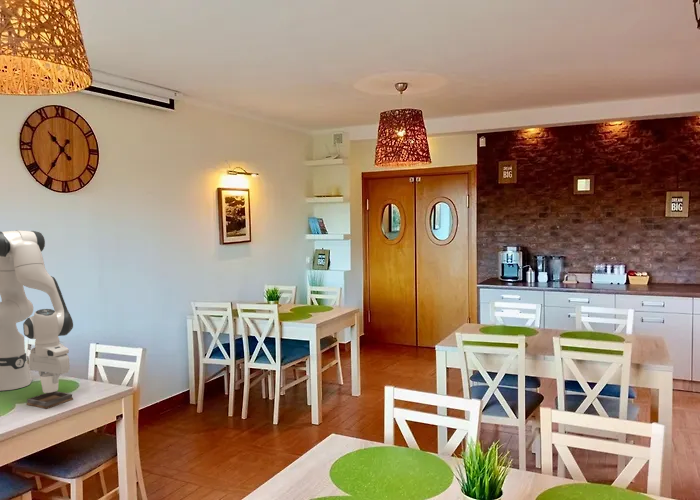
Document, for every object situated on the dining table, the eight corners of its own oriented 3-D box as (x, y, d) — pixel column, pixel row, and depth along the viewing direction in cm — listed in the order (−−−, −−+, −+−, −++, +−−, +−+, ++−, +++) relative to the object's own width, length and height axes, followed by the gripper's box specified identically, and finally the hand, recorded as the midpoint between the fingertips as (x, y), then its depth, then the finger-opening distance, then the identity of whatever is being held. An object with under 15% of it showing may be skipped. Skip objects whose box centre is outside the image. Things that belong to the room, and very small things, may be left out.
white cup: (63, 387, 228) (62, 371, 227) (52, 393, 221) (51, 376, 220) (48, 387, 228) (47, 371, 228) (37, 393, 222) (35, 376, 221)
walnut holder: (26, 404, 222) (26, 399, 222) (53, 395, 233) (53, 390, 233) (46, 408, 217) (46, 403, 217) (73, 399, 228) (72, 394, 228)
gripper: (23, 348, 225) (25, 381, 226) (57, 353, 216) (59, 387, 217) (37, 345, 230) (39, 377, 231) (71, 349, 222) (73, 382, 223)
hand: (49, 382), depth 224 cm, fingers closed on white cup, 5 cm apart
